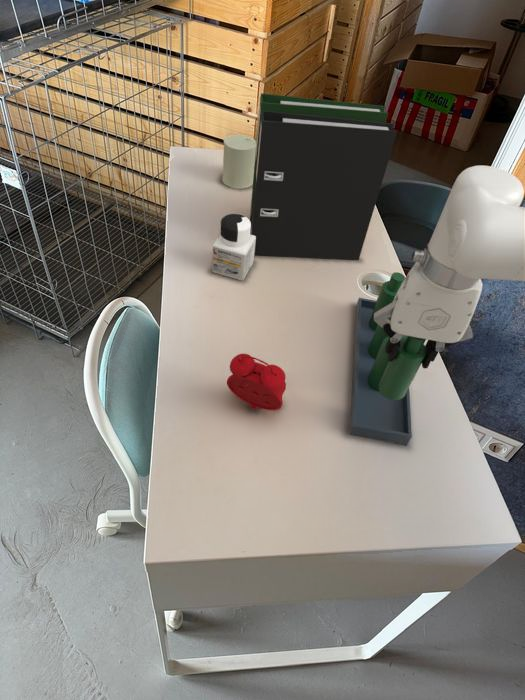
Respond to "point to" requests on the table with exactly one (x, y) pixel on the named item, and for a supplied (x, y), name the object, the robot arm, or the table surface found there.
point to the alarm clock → (257, 382)
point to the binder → (317, 176)
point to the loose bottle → (403, 368)
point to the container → (234, 247)
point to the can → (238, 161)
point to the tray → (374, 391)
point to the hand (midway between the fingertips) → (407, 357)
